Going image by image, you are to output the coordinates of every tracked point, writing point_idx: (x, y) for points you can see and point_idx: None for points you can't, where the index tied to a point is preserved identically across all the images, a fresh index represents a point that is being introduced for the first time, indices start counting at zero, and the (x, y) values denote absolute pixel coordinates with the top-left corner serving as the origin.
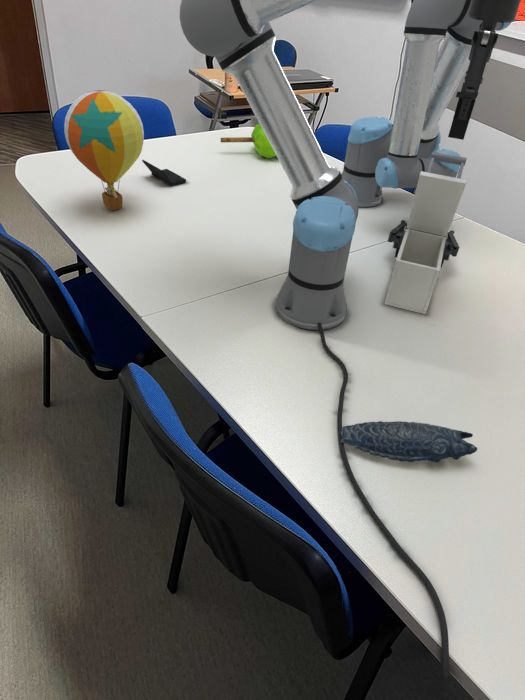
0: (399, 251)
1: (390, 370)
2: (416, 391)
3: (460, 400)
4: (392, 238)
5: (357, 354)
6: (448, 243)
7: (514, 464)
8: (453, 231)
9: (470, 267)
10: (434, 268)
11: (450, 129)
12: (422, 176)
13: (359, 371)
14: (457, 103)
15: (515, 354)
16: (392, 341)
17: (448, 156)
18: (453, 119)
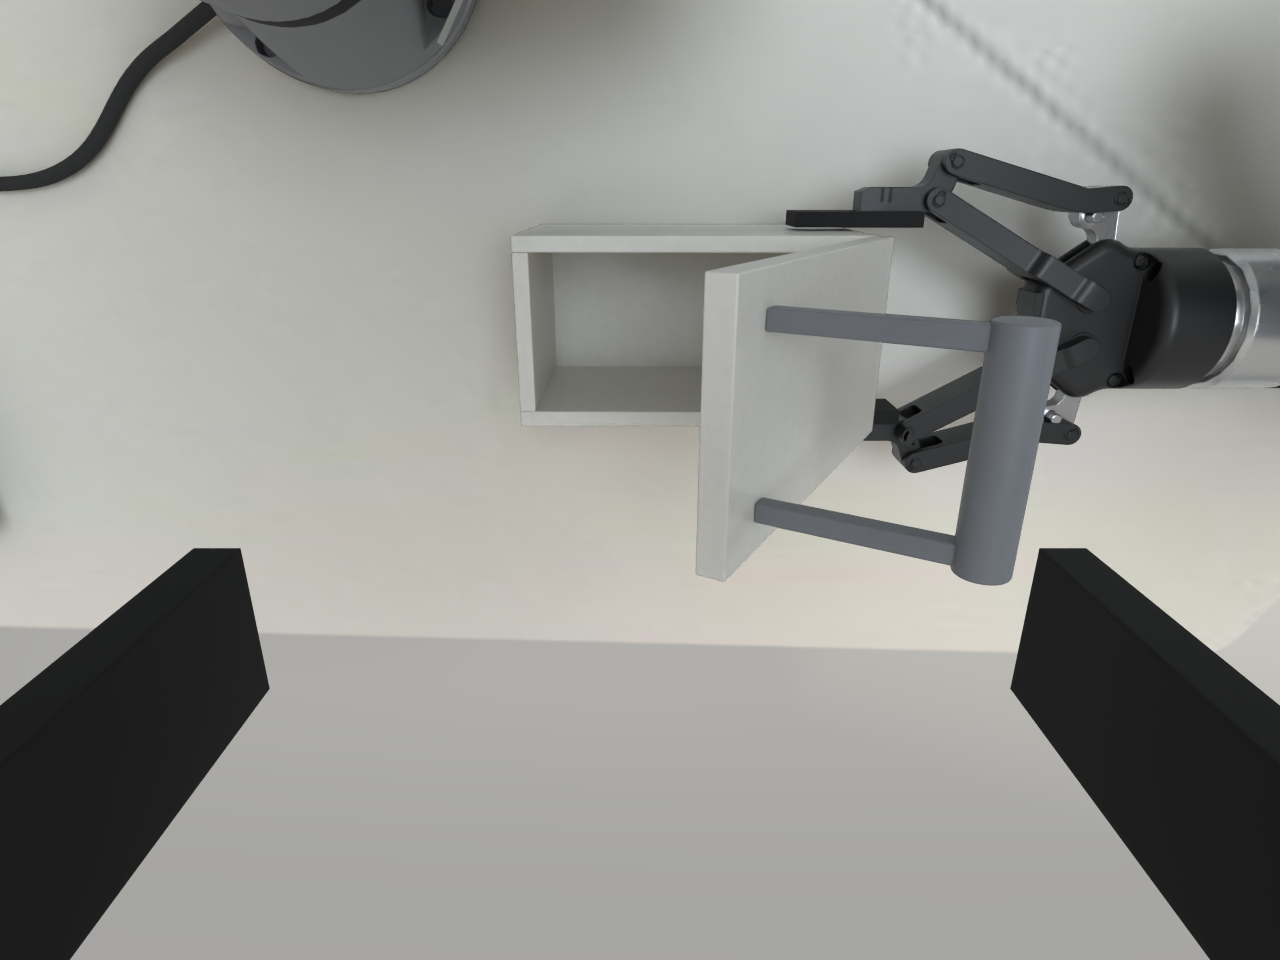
0: (606, 238)
1: (180, 308)
2: (137, 392)
3: (178, 503)
4: (931, 172)
5: (190, 190)
6: (934, 428)
7: (42, 618)
8: (1071, 440)
9: (957, 499)
10: (527, 403)
11: (141, 592)
12: (706, 292)
13: (112, 215)
14: (1154, 650)
15: (469, 629)
16: (328, 290)
17: (991, 459)
18: (65, 659)
